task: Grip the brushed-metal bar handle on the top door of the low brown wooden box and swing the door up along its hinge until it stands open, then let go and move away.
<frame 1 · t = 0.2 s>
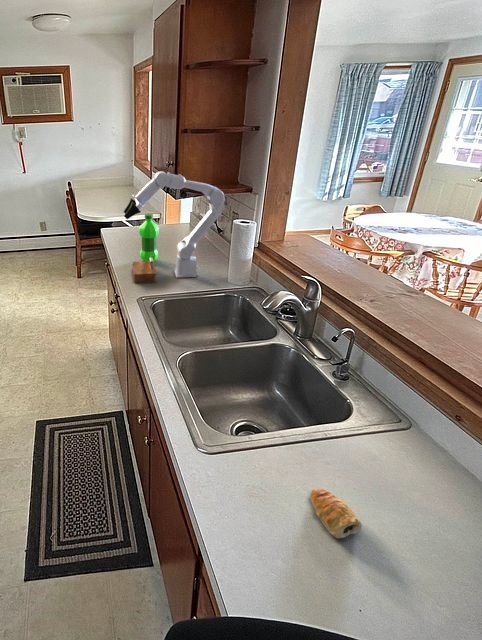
hand: (125, 215, 178), 30 cm above the counter, tool tilted 45°, fingers open, 7 cm apart
pastry: (332, 519, 77), on the counter
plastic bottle: (149, 260, 208), on the counter
brown wooden box: (143, 275, 190), on the counter
cabinet lid: (144, 264, 187), point 6 cm above the counter, hinge at 0.0°
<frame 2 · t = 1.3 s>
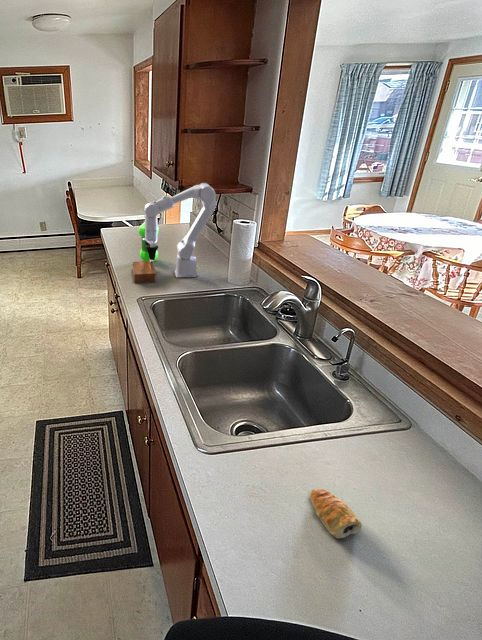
hand: (151, 256, 186), 10 cm above the counter, tool pointing down, fingers open, 7 cm apart
nothing on the counter moved.
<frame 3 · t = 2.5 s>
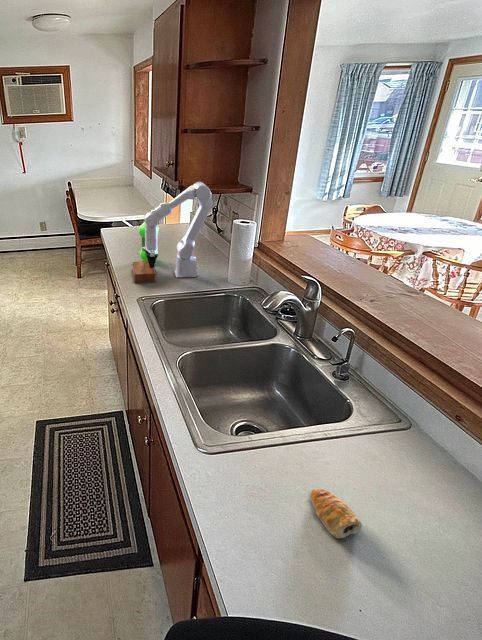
hand: (151, 265, 188), 5 cm above the counter, tool pointing down, fingers closed on cabinet lid, 5 cm apart
cabinet lid: (144, 264, 187), point 6 cm above the counter, hinge at 0.0°, touching gripper
everything else where it was.
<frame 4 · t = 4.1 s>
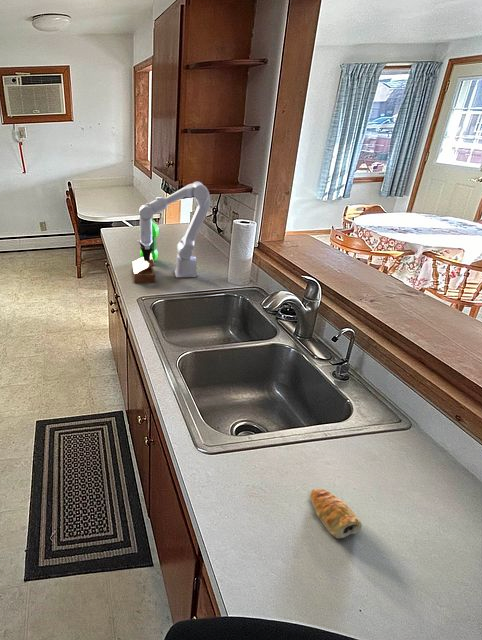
hand: (146, 258, 186), 9 cm above the counter, tool pointing down, fingers closed on cabinet lid, 5 cm apart
cabinet lid: (141, 260, 187), point 8 cm above the counter, hinge at 26.5°, touching gripper
everything else where it was.
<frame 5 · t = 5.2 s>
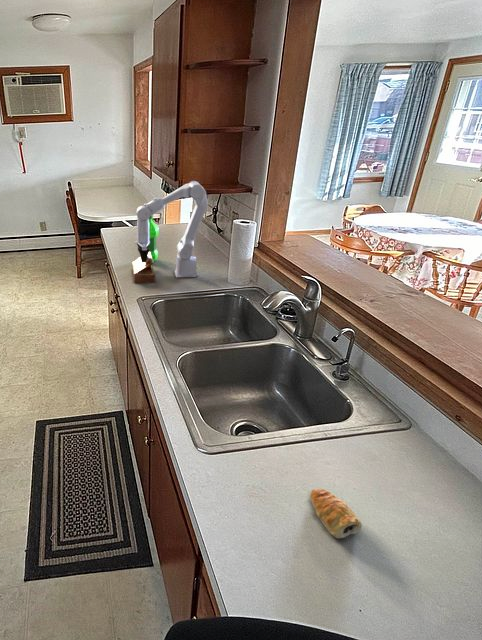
hand: (143, 259, 187), 9 cm above the counter, tool pointing down, fingers closed on cabinet lid, 5 cm apart
cabinet lid: (140, 259, 186), point 9 cm above the counter, hinge at 32.0°, touching gripper
everything else where it was.
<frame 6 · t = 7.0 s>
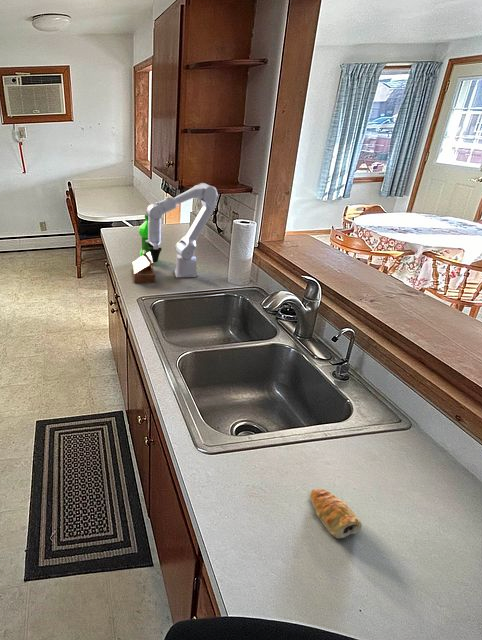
hand: (154, 258, 183), 10 cm above the counter, tool pointing down, fingers open, 7 cm apart
cabinet lid: (140, 259, 186), point 9 cm above the counter, hinge at 31.9°
everything else where it was.
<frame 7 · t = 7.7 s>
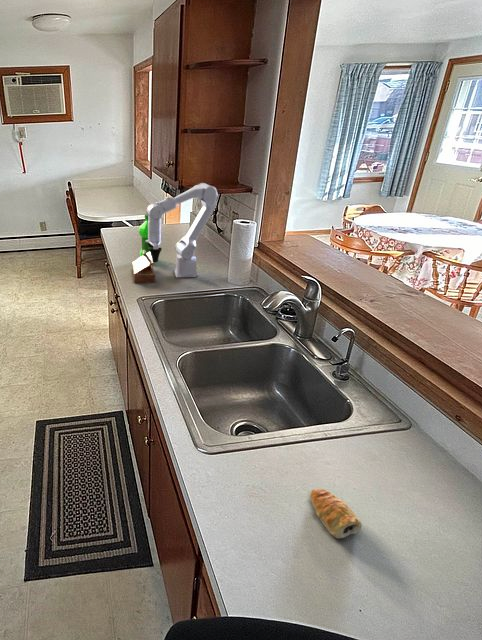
hand: (154, 258, 183), 10 cm above the counter, tool pointing down, fingers open, 7 cm apart
nothing on the counter moved.
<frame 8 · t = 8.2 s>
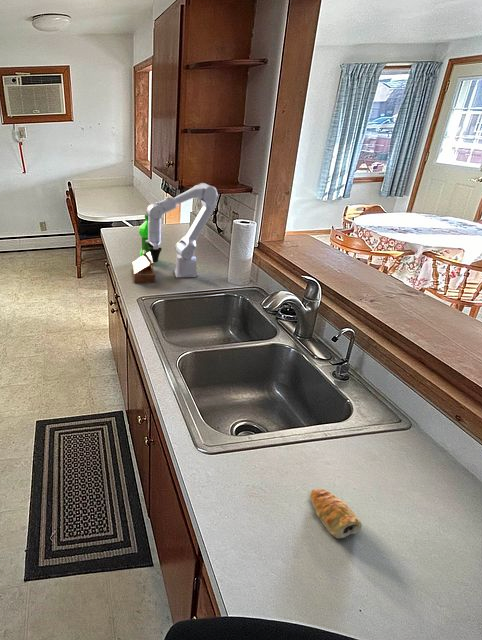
hand: (154, 258, 183), 10 cm above the counter, tool pointing down, fingers open, 7 cm apart
nothing on the counter moved.
at the end: cabinet lid at +32° (first picture: +0°); the gripper is holding nothing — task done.
